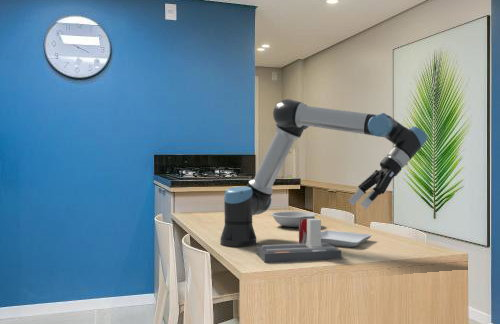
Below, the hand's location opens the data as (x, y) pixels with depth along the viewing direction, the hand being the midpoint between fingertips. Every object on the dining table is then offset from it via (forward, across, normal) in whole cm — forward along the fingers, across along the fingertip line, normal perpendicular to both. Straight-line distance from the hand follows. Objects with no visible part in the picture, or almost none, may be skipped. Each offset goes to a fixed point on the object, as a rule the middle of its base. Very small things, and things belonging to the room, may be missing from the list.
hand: (356, 204), depth 166 cm
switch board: (+28, 0, +4) cm, 29 cm away
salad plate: (+12, +26, -14) cm, 32 cm away
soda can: (+23, +17, -2) cm, 29 cm away
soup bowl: (+19, +71, -5) cm, 74 cm away
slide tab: (+22, +1, +1) cm, 22 cm away
